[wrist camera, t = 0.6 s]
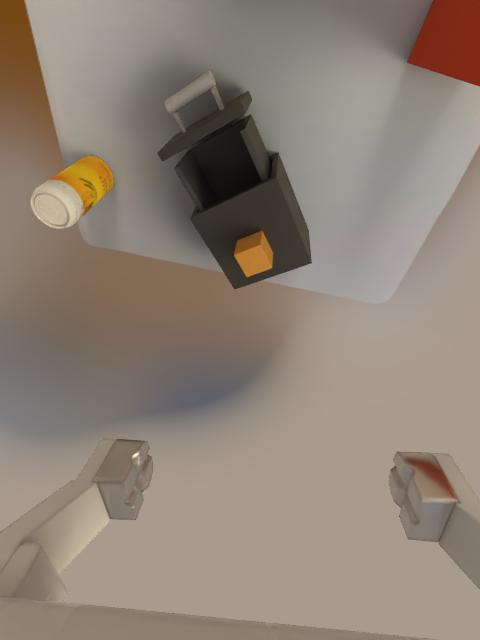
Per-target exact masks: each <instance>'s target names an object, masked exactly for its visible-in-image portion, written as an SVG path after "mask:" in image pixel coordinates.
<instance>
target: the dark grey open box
mask: <svg viewBox="0 0 480 640" xmlns="http://www.w3.org/2000/svg"><path fill="white" fill-rule="evenodd" d="M269 159H270V161H271V164H272V171H271V178H269V179H267V180H265V181H263V182H261V183H259V184H257V185H255V186H253V187H250V188H248V189H246V190H244V191H242V192H240V193H238V194H236V195H234V196H232V197H230V198H227V199H225V200H223V201H221V202H219V203H217V204H215V205H213V206H211V207H209V208H206V209H204V210H202V211H199V209H198V208H197V206H196V208H195V210H194V211H193V213H192V215H191V217H190V219H191V221H192V222H193V224H194V226H195V227H196V229H197V230H198V232H199V234H200V235H201V237H202V238H203V240H204V241H205V243H206V245H207V246H208V248H209V249H210V251H211V253H212V254H213V256H214V257H215V259H216V260H217V262H218V264H219V265H220V267H221V268H222V270H223V272H224V273H225V275H226V276H227V278H228V280H229V281H230V283H231V284H232V286H233V287H234V289H237V288H240V287H243V286H246V285H249V284H252V283H255V282H258V281H261V280H264V279H267V278H270V277H272V276H275V275H278V274H281V273H284V272H287V271H290V270H293V269H296V268H299V267H302V266H305V265H307V264H310V263H312V262H311V251H310V241H309V230H308V228H307V225H306V223H305V220H304V217H303V215H302V212H301V210H300V207H299V204H298V202H297V199H296V197H295V194H294V192H293V189H292V186H291V184H290V181H289V179H288V176H287V174H286V171H285V168H284V166H283V163H282V161H281V158H280V156H279V153H277V154H275V155H273V156H271V157H269ZM259 231H263V233H264V235H265V237H266V239H267V241H268V243H269V245H270V247H271V250H272V252H273V263H272V268H271V269H268V270H266V271H263V272H260V273H257V274H254V275H251V276H249V277H246V275H245V273H244V272H243V270H242V268H241V267H240V265H239V263H238V261H237V260H236V258H235V256H234V252H235V248H236V244H237V241H238V240H240V239H242V238H245V237H247V236H250V235H252V234H255V233H257V232H259Z"/></svg>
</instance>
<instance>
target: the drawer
mask: <svg viewBox="0 0 480 640" xmlns="http://www.w3.org/2000/svg"><path fill="white" fill-rule="evenodd" d="M215 86H216V81H215V79H214V76H213V74H212V73H211V71H208V72H207V73H205V74H204V75H202V76H201V77H199V78H198V79H197V80H195V81H194V82H192V83H191V84H189V85H188V86H186V87H185V88H183V89H182V90H180V91H179V92H177V93H176V94H174V95H173V96H171V97H170V98H169V99H167V100H166V101H165V102H164V104H165V107H166V109H167V110H168V112H169V113H170V114H173V116H174V118H175V120H176V121H177V123H178V125H179V127H180V129H181V131H182V132H180V133H178V134H177V135H175V136H174V137H173V138H172V139H171V140H170V141H169V142H168V143H167V144H166V145H165V146H164V147H163V148H162V149H161V150H160V151H159V152H158V155H159V157H160V158H161V160H162V161H164V160H166V159H168V158H170V157H171V156H173V155H175V154H176V153H178V152H180V151H182V150H183V149H185V148H187V147H188V146H190V145H192V144H194V143H195V142H197V141H199V140H200V139H202V138H204V137H206V136H207V135H209V134H211V133H212V132H214V131H216V130H217V129H219V128H221V127H223V126H224V125H226V124H228V123H229V122H231V121H233V120H235V119H236V118H238V117H240V116H241V115H243V114H245V113H246V111H247V109H248V107H249V105H250V103H251V101H252V98H251V96H250V93H249V91H247V92H245V93H244V94H242V95H240V96H239V97H237V98H235V99H234V100H232V101H230V102H229V103H227V104H226V105H224V104H223V102H222V100H221V98H220V96H219V93H218V91H217V89H216V87H215ZM209 89H211V91H212V94H213V96H214V98H215V100H216V102H217V104H218V107H219V109H217V110H216V111H214V112H213V113H211V114H209V115H208V116H206V117H204V118H203V119H201V120H200V121H198V122H196V123H195V124H193V125H191V126H190V127H188V128H186V127H185V125H184V123H183V121H182V119H181V118H180V116H179V114H178V112H177V110H179V109H180V108H182V107H183V106H185V105H186V104H188V103H189V102H191V101H193V100H194V99H196V98H197V97H199V96H200V95H202V94H203V93H205V92H206V91H208V90H209ZM174 169H175V171H176V173H177V174H178V176H179V178H180V179H181V181H182V183H183V184H184V186H185V188H186V189H187V191H188V193H189V194H190V196H191V198H192V199H193V201H194V203H195V204H196V206H197V208H198V209H199V211H202V210H204V209H206V208H209V207H211V206H213V205H215V204H217V203H219V202H221V201H223V200H225V199H227V198H230V197H232V196H234V195H236V194H238V193H240V192H242V191H244V190H246V189H248V188H250V187H253V186H255V185H257V184H259V183H261V182H263V181H265V180H267V179H269V178H271V171H272V164H271V161H270V159H269V156H268V154H267V152H266V149H265V147H264V144H263V142H262V139H261V137H260V135H259V132H258V130H257V127H256V125H255V122H254V120H253V117H252V115H249V116H247V117H245V118H244V119H242V120H240V121H239V122H237V123H235V124H233V125H232V126H230V127H228V128H226V129H225V130H223V131H221V132H220V133H218V134H216V135H214V136H213V137H211V138H209V139H207V140H206V141H204V142H202V143H201V144H199V145H197V146H195V147H194V148H192V149H190V150H188V152H187V153H186V154H185V155H184V156H183V158H182V159H181V160H180V162H179V163H178V164H177V165H176V167H175V168H174Z"/></svg>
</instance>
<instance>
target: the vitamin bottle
mask: <svg viewBox="0 0 480 640" xmlns="http://www.w3.org/2000/svg"><path fill="white" fill-rule="evenodd" d="M113 185H114V177H113V174H112V171H111V169H110V168H109V167H108V165H107V164H106V163H105V162H104V161H102V160H101V159H99V158H97V157H94V156H86V157H83V158H82V159H80V160H79V161H77V162H76V163H74V164H73V165H71V166H70V167H68V168H66V169H65V170H63V171H62V172H60V173H59V174H57V175H56V176H54V177H53V178H51V179H50V180H48V181H46V182H45V183H43V184H42V185H40V186H39V187H37V188H36V189H35V190H34V192H33V195H32V197H31V207H32V209H33V212H34V213H35V215H36V216H37V217H38V218H39V219H40V220H41V221H42V222H43V223H45V224H46V225H48V226H50V227H53V228H57V229H61V228H66V227H70V226H72V225H73V224H74V223H76V222H77V221H78V220H79V219H80V218H81V217H82V216H83V215H84V214H85V213H86V212H87V211H88V210H90V209H91V208H92V207H93V206H94V205H95V204H96V203H97V202H98V201H99V200H100V199H101V198H102V197H104V196H105V195H106V194H107V193H108V192H109V191H110V190H111V189H112V187H113Z"/></svg>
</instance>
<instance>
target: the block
mask: <svg viewBox="0 0 480 640" xmlns="http://www.w3.org/2000/svg"><path fill="white" fill-rule="evenodd" d="M234 256H235V258H236V260H237V261H238V263H239V265H240V267H241V268H242V270H243V272H244V273H245V275H246V277H249V276H251V275H254V274H257V273H260V272H263V271H266V270H268V269H271V268H272V263H273V252H272V250H271V247H270V245H269V243H268V241H267V239H266V237H265V235H264V233H263V231H259V232H257V233H255V234H252V235H250V236H247V237H245V238H242V239H240V240H238V241H237V244H236V248H235V252H234Z"/></svg>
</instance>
